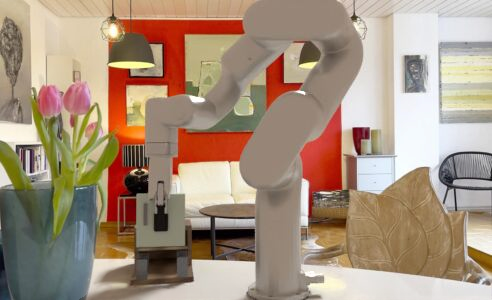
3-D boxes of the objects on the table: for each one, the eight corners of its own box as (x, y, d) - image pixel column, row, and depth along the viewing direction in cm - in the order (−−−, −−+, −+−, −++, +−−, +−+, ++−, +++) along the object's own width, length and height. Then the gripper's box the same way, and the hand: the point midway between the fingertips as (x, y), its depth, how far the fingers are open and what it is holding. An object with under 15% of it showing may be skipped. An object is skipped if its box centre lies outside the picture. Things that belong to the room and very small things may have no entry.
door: (184, 243, 99) (184, 192, 99) (185, 246, 96) (185, 194, 96) (137, 244, 97) (137, 193, 97) (136, 247, 94) (136, 194, 94)
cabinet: (190, 259, 114) (190, 219, 114) (193, 281, 95) (193, 232, 95) (138, 262, 112) (137, 221, 112) (130, 284, 92) (129, 235, 92)
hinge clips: (187, 269, 101) (186, 250, 101) (187, 276, 94) (187, 257, 95) (138, 272, 99) (138, 253, 99) (136, 280, 93) (136, 259, 93)
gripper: (147, 150, 104) (147, 224, 104) (142, 151, 88) (142, 237, 88) (177, 151, 105) (177, 223, 105) (178, 151, 90) (177, 236, 90)
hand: (161, 229), depth 97 cm, fingers closed on door, 2 cm apart
